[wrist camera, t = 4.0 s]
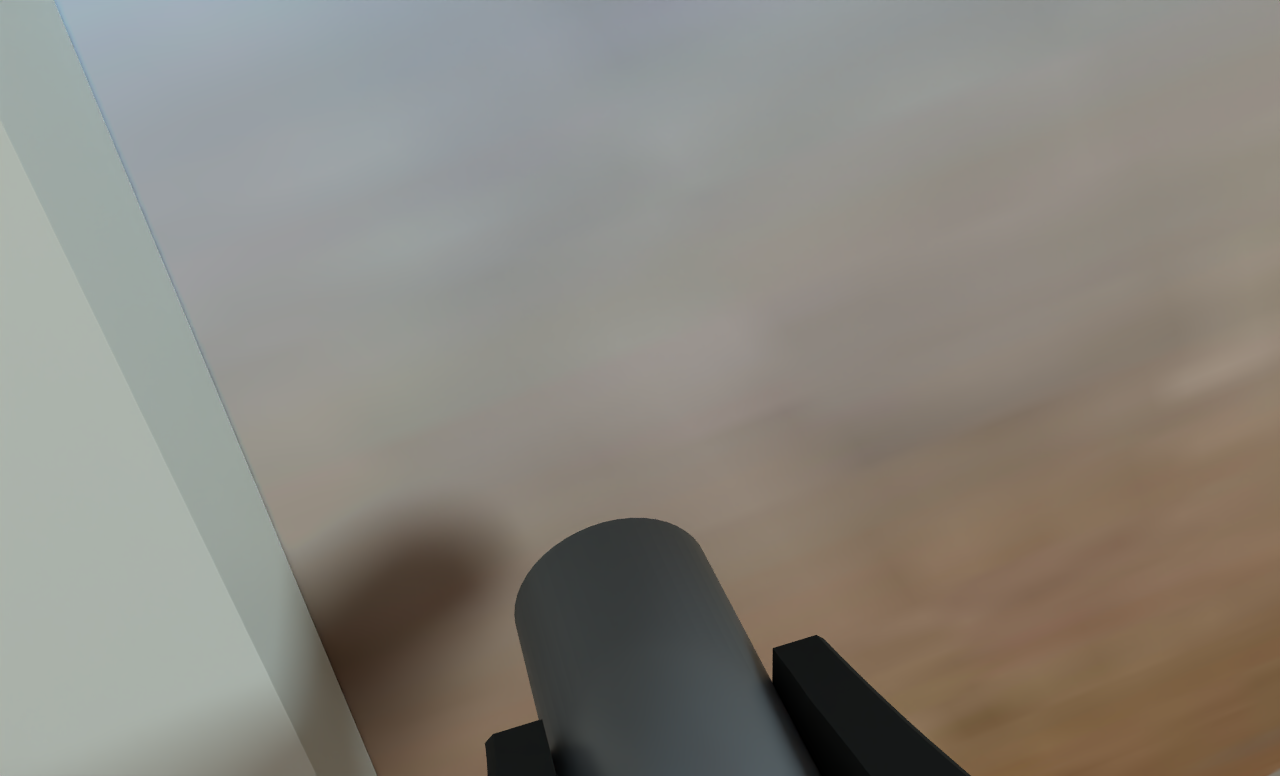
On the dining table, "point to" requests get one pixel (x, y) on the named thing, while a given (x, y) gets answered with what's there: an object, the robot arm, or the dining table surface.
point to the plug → (647, 662)
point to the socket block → (127, 485)
